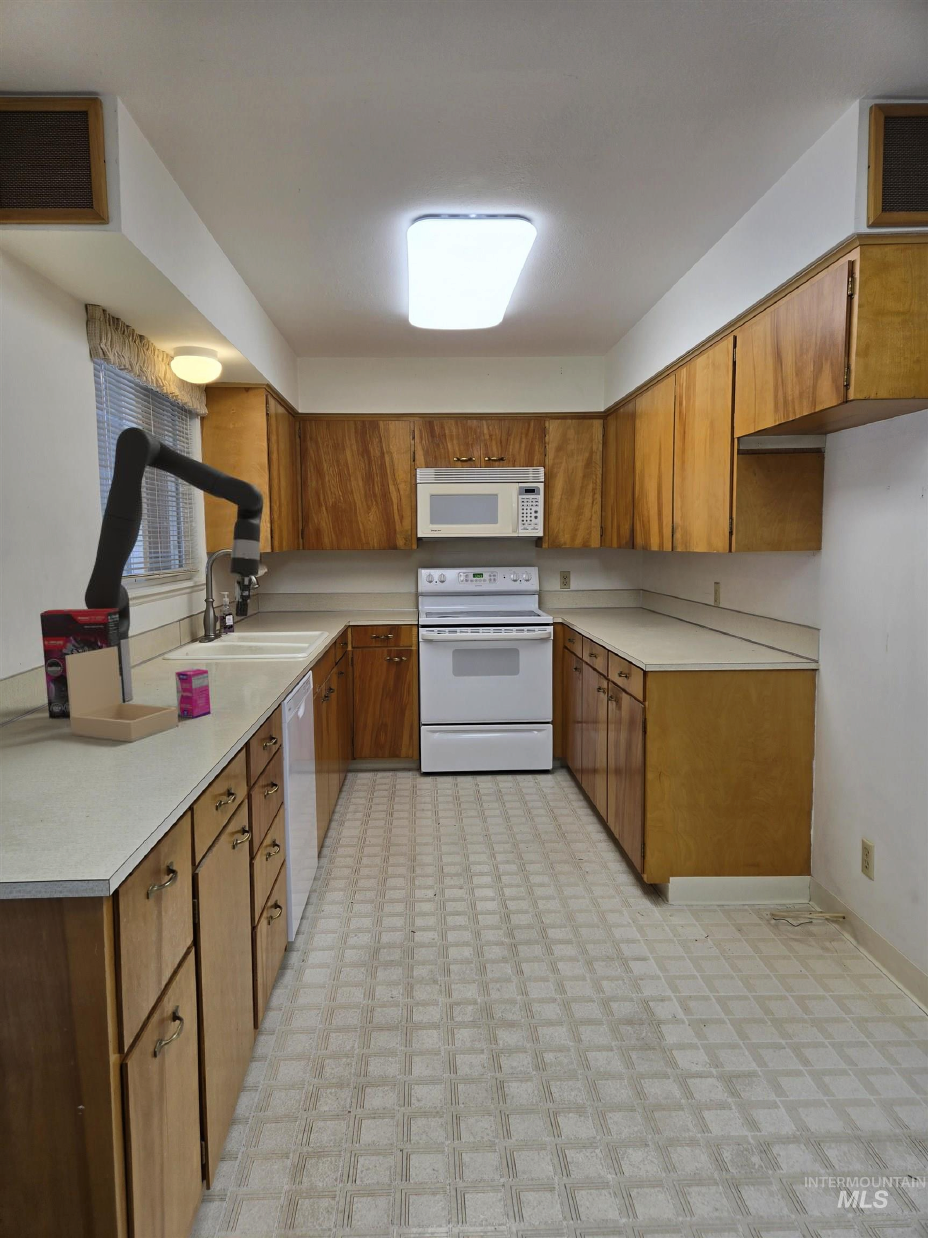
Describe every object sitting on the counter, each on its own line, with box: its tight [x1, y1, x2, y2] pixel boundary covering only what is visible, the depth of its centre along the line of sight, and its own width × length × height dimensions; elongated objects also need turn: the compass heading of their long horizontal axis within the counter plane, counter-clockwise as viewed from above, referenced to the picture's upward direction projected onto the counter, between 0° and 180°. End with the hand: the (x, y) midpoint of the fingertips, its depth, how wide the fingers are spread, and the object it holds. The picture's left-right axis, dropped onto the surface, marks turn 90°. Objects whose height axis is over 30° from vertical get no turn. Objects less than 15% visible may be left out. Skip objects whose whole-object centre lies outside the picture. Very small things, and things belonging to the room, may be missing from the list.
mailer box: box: [65, 647, 179, 743], centre depth 164 cm, size 18×14×18 cm
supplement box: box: [174, 668, 212, 719], centre depth 178 cm, size 6×6×12 cm
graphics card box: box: [39, 608, 126, 719], centre depth 178 cm, size 17×7×27 cm, turn 91°
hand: (241, 616), depth 193 cm, fingers open, 8 cm apart
